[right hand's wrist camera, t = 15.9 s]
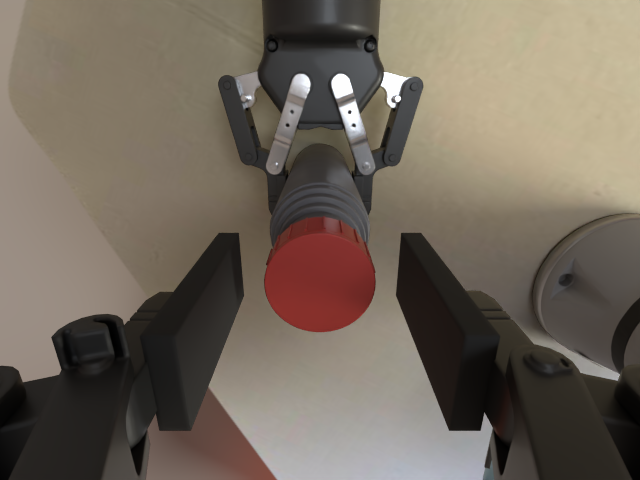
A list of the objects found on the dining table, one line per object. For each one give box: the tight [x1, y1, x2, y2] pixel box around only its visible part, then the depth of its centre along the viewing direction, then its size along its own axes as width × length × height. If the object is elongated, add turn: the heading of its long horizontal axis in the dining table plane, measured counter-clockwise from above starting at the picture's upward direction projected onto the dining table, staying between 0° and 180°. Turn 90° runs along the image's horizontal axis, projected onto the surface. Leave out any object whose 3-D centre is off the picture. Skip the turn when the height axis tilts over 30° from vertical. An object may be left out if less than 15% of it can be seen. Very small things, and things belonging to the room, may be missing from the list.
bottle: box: [270, 144, 370, 247], centre depth 23 cm, size 5×5×22 cm
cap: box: [264, 216, 375, 332], centre depth 14 cm, size 4×4×2 cm
